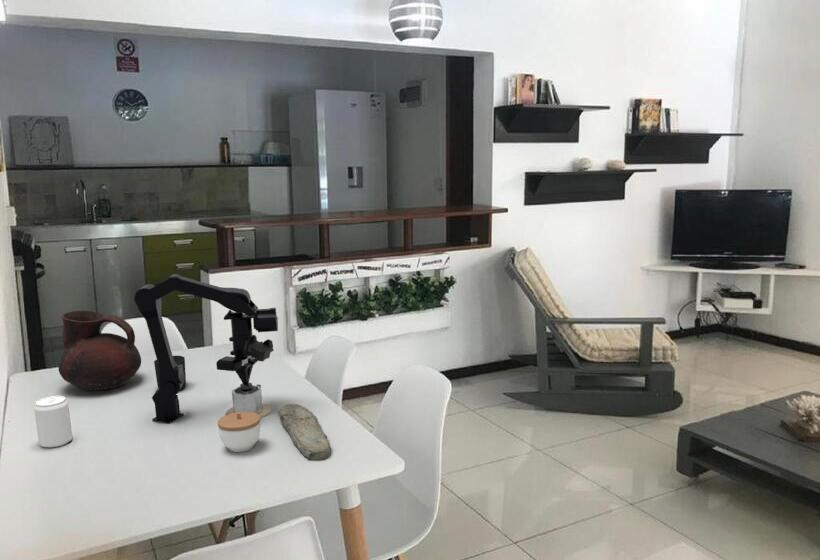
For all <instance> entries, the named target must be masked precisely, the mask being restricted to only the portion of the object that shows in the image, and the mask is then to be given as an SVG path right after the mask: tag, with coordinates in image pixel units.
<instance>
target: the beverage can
mask: <svg viewBox="0 0 820 560" xmlns="http://www.w3.org/2000/svg"><path fill="white" fill-rule="evenodd" d="M33 411H34V416H35V417H34V419H35V425H36V432H37V438H38V439H37V440H38V445H39V446H40V447H43V448H57V447H61V446H64V445H66V444H68V443H69V442H71V441H72V439H73V430H72V422H71V412H70V406H69V402H68V400H67V399H66V397H65V396H63V395H52V396H46V397H42V398H40V399H37V401H36V402H35V405H34V408H33Z"/></svg>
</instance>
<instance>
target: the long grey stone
mask: <svg viewBox="0 0 820 560" xmlns="http://www.w3.org/2000/svg"><path fill="white" fill-rule="evenodd" d="M277 414H278V415H277V416H278V417H279V420H280V423H281V424H282V425H283V427H282V428H283V429H285V430H286V431H287V433H288V434H289V437H290V438H291V442H292V443H294V445H295V446H296V447H297V448H298V451H299V452H300V453H301V454H303V456H304V457H306V458H307V459H310V460H312V461H320V460H325V459H327V458H328V457H329V456H330V453H331V446H330V445H331V443H330V441H329V439H328V436H327V435H326V433H325V432H324V430H323V428H322V426H321V424H320V422H319V420H318V419H319V418H317V416H316V415H314V414H313V412H312V411H310V410H309V409H308V408H306V407H304V406H303V405H301V404H299V403H289V404H285V405H284V406H281V407H279V409H278V412H277Z"/></svg>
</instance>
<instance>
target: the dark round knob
mask: <svg viewBox="0 0 820 560" xmlns="http://www.w3.org/2000/svg"><path fill="white" fill-rule="evenodd" d="M252 385H253V383H252V382H249V383H248V384H247V385H244V384H243V383H242V382H241V383H240V384H239V387H240V389H241V391H243V392H245V394H248V391H251V390H252Z"/></svg>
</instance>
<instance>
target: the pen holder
mask: <svg viewBox="0 0 820 560" xmlns="http://www.w3.org/2000/svg"><path fill="white" fill-rule="evenodd" d="M172 356H173V359H174V361H175V363H176V364H177V365H180V364H182V365H183V372H184V374H185V375H186V373H187V372H186V360H185V359H186V358H185V356H182V355H172ZM153 363H154V371H155V378H156V383H157V384H156V385H157V388H158V387H159V379H158V376H159V365H158V362H157V359H154V361H153ZM186 378H187V377H185V379H184V383H183V385H182V387H181V389H180V391H179V392H182V391H184V390H185V389H186V387H187V379H186Z"/></svg>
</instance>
